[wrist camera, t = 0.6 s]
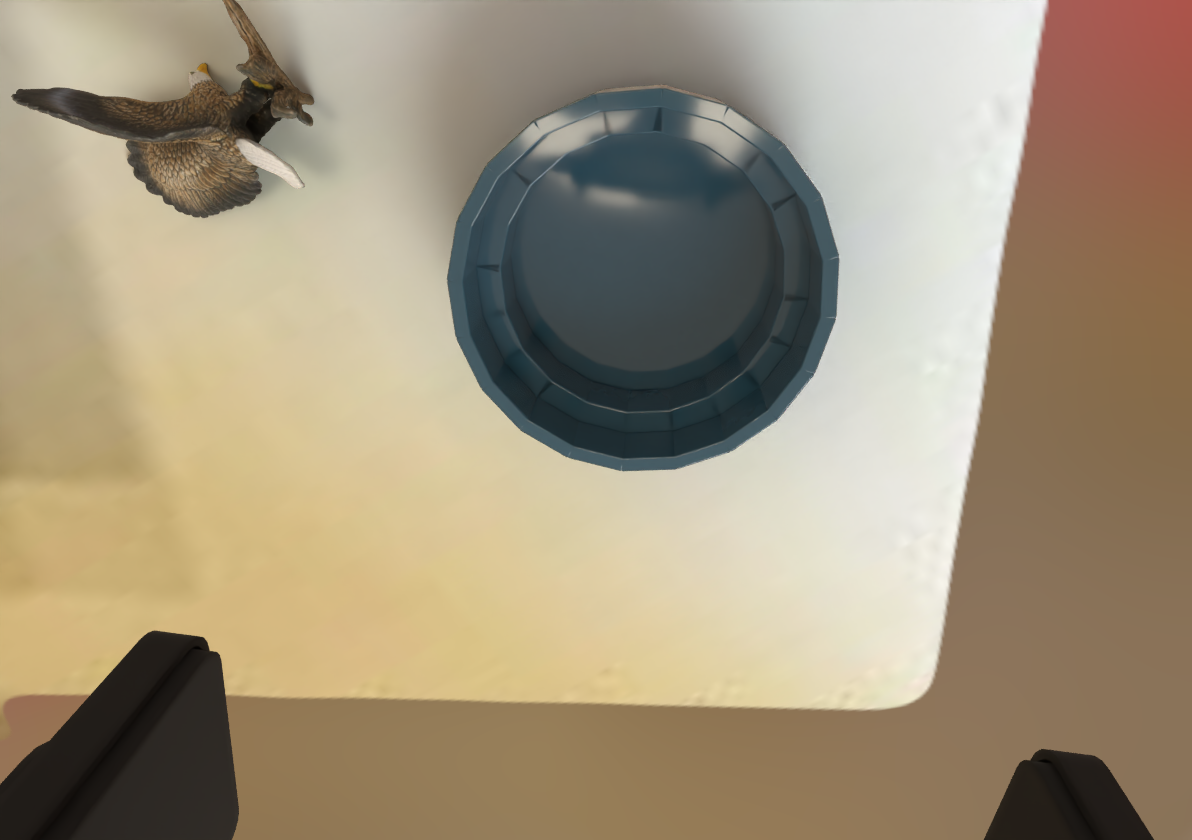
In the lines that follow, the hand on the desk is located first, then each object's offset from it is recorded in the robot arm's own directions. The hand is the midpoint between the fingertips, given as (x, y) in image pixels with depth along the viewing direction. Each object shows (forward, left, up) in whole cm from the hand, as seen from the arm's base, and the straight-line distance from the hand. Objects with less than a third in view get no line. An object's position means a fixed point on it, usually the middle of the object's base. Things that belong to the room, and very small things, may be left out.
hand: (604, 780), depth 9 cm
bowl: (0, 0, -27) cm, 27 cm away
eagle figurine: (-7, -17, -27) cm, 33 cm away
